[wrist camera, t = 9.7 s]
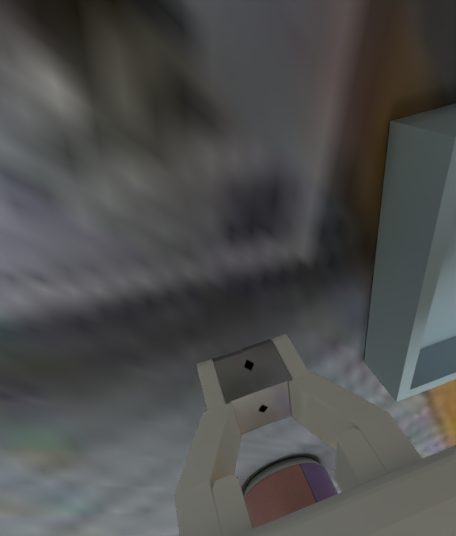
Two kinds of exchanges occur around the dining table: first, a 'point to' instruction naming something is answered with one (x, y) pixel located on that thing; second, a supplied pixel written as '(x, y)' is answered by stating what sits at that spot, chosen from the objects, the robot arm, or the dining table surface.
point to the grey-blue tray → (416, 258)
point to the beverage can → (287, 489)
